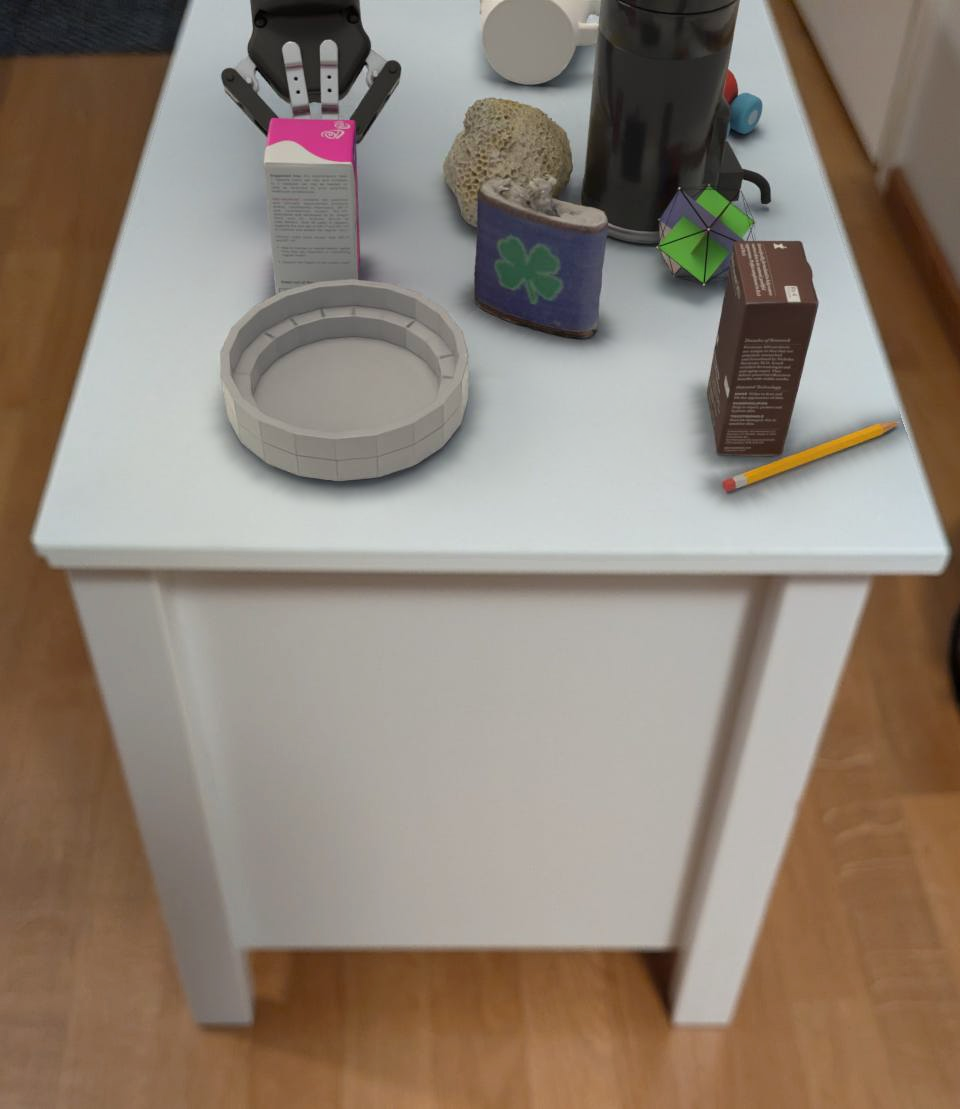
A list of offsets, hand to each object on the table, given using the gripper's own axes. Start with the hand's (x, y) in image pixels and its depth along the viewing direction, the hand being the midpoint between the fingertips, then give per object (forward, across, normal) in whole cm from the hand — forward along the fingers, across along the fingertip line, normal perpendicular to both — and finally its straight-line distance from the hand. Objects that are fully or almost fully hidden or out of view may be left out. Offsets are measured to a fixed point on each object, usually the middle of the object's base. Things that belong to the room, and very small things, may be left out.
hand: (324, 206), depth 88 cm
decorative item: (-1, +14, +8) cm, 16 cm away
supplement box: (+6, -1, +1) cm, 6 cm away
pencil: (+20, +28, -15) cm, 37 cm away
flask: (+9, +14, -3) cm, 17 cm away
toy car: (-8, +31, +14) cm, 35 cm away
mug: (-16, +21, +23) cm, 35 cm away
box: (+18, +25, -12) cm, 33 cm away
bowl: (+14, 0, -8) cm, 16 cm away
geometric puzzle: (+2, +28, -6) cm, 29 cm away
